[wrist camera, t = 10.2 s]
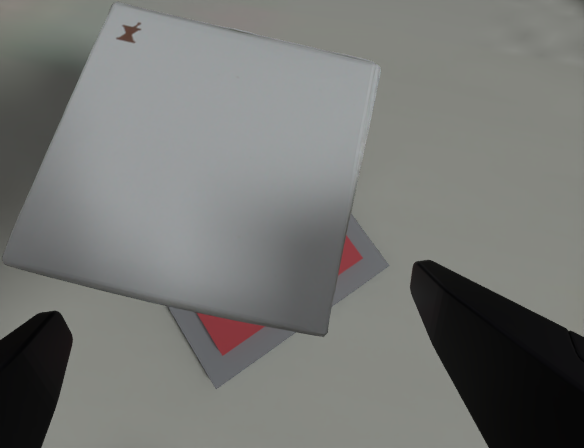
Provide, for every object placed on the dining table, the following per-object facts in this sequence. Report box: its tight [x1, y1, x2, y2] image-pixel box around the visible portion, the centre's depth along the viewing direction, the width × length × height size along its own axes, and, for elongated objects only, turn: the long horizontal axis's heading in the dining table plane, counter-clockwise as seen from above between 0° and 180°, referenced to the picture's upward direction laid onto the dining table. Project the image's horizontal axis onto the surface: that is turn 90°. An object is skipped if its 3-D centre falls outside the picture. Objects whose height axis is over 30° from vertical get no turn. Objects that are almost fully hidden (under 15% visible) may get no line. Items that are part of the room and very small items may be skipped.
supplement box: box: [2, 2, 381, 337], centre depth 14 cm, size 7×7×13 cm
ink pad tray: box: [168, 214, 389, 389], centre depth 21 cm, size 12×12×1 cm
